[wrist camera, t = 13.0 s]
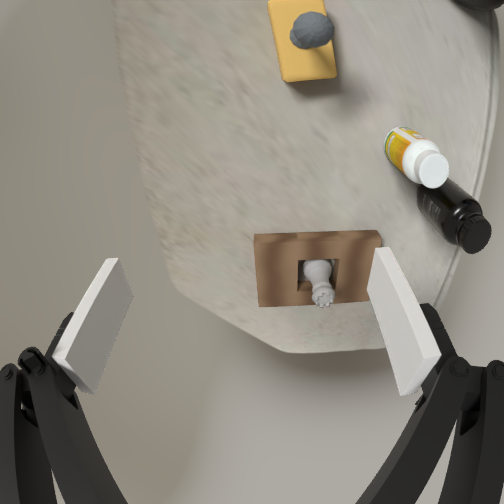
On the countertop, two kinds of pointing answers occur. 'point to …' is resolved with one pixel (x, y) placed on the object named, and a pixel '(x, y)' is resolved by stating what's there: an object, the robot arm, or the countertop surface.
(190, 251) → the countertop surface
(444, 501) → the robot arm
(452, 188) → the supplement bottle
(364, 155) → the countertop surface
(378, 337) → the countertop surface
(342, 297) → the walnut socket board
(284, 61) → the rubber stamp
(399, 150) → the supplement bottle
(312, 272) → the rook chess piece
